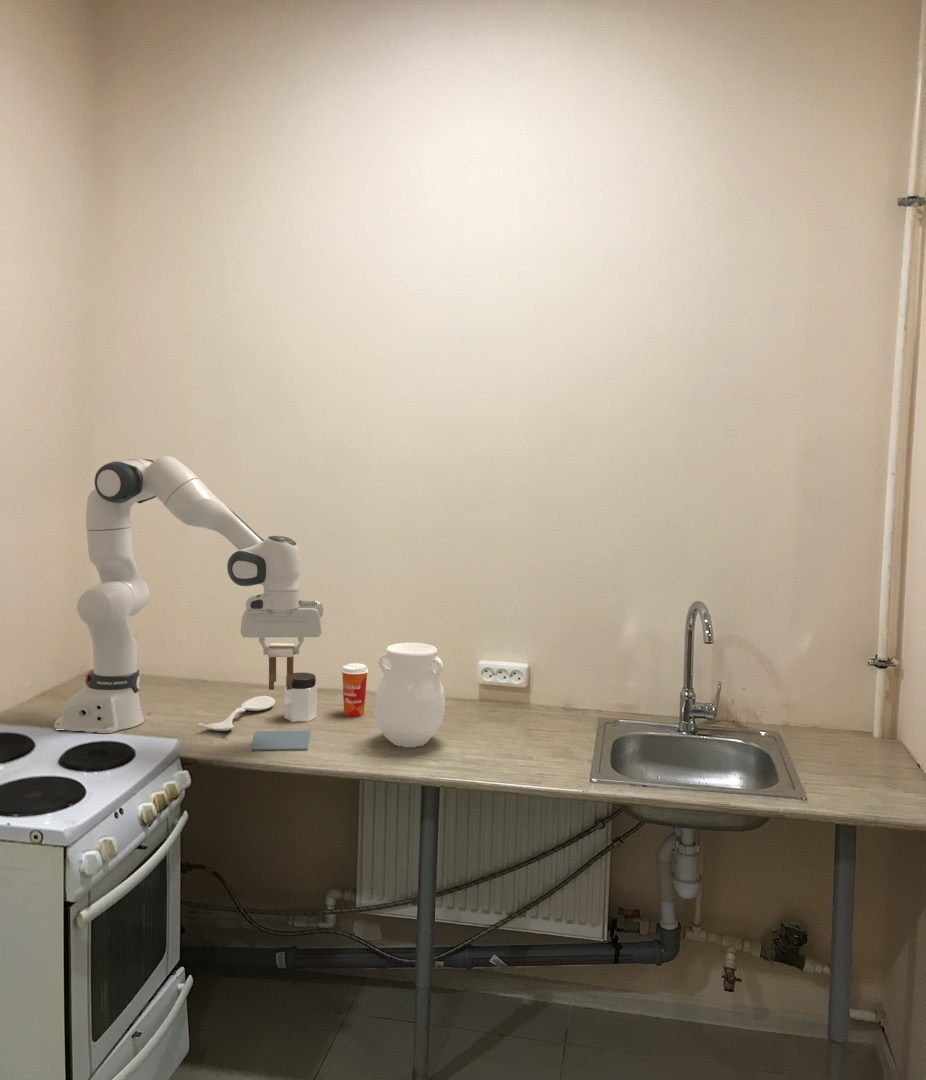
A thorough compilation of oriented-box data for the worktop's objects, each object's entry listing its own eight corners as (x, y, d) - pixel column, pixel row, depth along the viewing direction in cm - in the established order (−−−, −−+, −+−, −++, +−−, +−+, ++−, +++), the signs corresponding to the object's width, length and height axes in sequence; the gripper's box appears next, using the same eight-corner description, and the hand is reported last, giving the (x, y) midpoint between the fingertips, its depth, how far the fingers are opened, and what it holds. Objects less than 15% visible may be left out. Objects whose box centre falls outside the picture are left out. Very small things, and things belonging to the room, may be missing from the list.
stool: (270, 680, 239) (270, 642, 238) (294, 680, 240) (294, 642, 239) (267, 690, 230) (268, 650, 229) (292, 689, 231) (292, 650, 230)
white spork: (196, 735, 241) (196, 723, 240) (252, 702, 272) (252, 691, 271) (227, 739, 239) (227, 726, 238) (280, 705, 270) (280, 694, 269)
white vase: (452, 734, 247) (455, 643, 244) (432, 756, 230) (434, 659, 227) (387, 726, 252) (389, 637, 249) (362, 748, 235) (364, 652, 232)
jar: (321, 719, 257) (322, 677, 256) (295, 724, 252) (295, 681, 251) (305, 711, 264) (305, 670, 263) (279, 716, 259) (280, 674, 257)
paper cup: (335, 715, 261) (335, 667, 260) (350, 708, 268) (351, 661, 266) (357, 719, 258) (358, 671, 256) (373, 712, 264) (374, 665, 263)
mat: (250, 751, 230) (250, 749, 230) (256, 733, 244) (256, 731, 244) (307, 750, 232) (307, 748, 232) (309, 732, 245) (309, 730, 245)
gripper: (323, 598, 237) (323, 651, 238) (242, 598, 234) (242, 651, 236) (322, 602, 231) (322, 656, 232) (239, 602, 228) (239, 657, 230)
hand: (281, 654), depth 234 cm, fingers closed on stool, 6 cm apart
